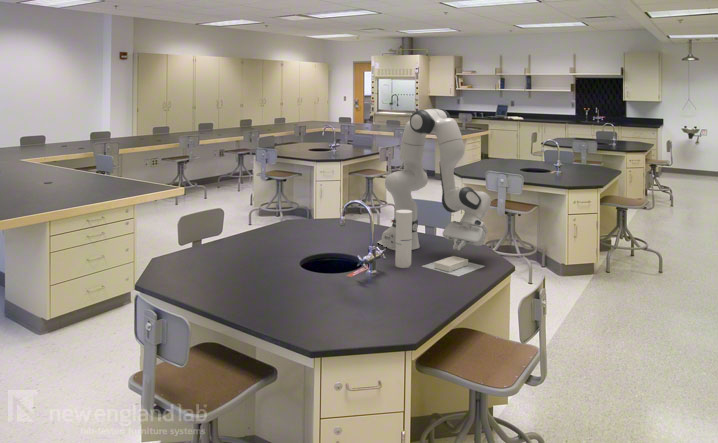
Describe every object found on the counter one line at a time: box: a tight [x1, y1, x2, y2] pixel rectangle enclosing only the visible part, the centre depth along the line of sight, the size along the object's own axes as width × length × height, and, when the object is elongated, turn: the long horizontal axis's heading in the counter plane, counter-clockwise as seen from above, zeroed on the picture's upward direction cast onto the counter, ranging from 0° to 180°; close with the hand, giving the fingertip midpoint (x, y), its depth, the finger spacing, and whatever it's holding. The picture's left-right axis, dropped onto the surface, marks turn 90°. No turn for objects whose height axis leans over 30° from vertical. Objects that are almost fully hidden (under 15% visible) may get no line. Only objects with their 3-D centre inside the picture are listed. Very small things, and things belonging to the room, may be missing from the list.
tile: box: [433, 255, 469, 272], centre depth 249 cm, size 8×3×14 cm
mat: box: [421, 256, 486, 277], centre depth 250 cm, size 20×20×1 cm
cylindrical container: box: [394, 210, 412, 269], centre depth 251 cm, size 7×7×25 cm
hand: (456, 249), depth 249 cm, fingers closed
